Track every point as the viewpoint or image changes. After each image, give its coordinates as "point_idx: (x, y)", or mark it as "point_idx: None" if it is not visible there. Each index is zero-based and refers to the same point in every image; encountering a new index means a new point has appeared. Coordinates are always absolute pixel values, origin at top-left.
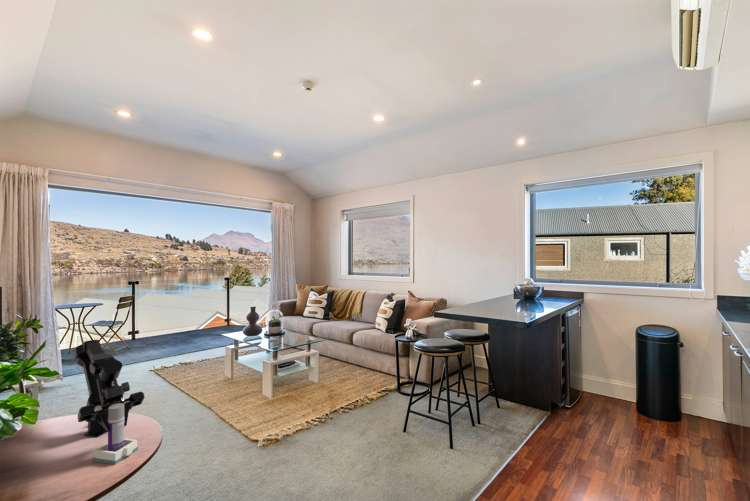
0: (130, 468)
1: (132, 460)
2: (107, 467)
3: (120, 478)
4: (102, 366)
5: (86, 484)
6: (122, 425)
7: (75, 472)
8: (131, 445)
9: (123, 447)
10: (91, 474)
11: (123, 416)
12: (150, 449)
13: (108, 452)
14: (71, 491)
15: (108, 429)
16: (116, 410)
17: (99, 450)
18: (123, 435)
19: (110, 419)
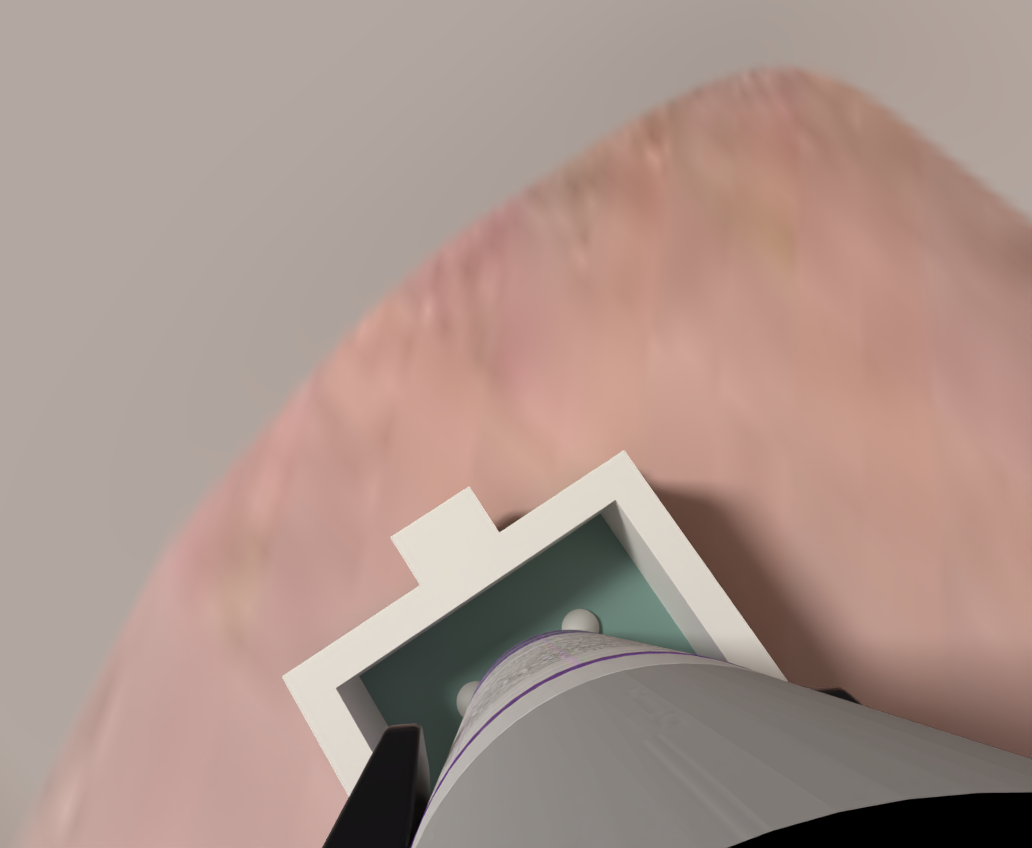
0: (491, 258)
1: (437, 418)
2: (683, 463)
3: (603, 143)
4: None
5: (877, 264)
6: (500, 690)
7: (989, 618)
8: (399, 542)
9: (504, 561)
10: (835, 431)
11: (450, 790)
12: (200, 540)
13: (700, 558)
14: (993, 238)
15: (844, 699)
16: (996, 748)
17: None
18: (479, 693)
19: (962, 812)
